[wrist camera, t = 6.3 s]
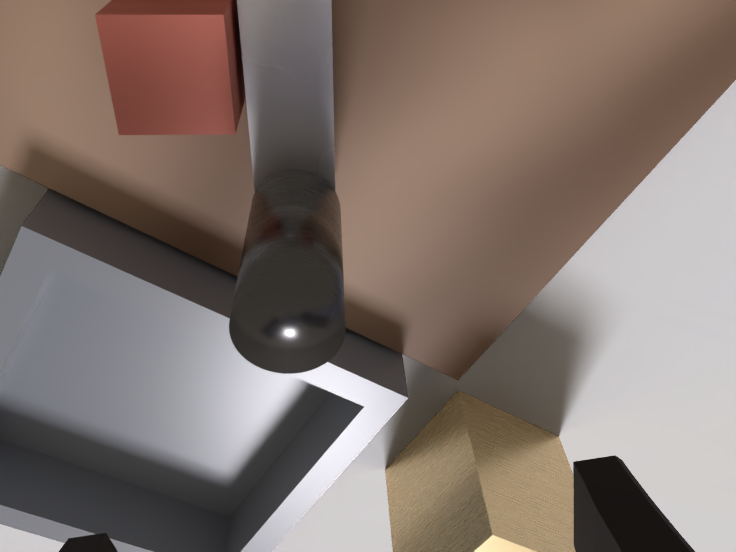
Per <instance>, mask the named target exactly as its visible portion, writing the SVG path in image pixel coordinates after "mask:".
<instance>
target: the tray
mask: <svg viewBox="0 0 736 552" xmlns="http://www.w3.org/2000/svg"><path fill="white" fill-rule="evenodd" d="M237 278H238V277H237V276H235V275H233V274H231V273H229V272H227V271H225V270H222V269H220V268H218V267H216V266H214V265H212V264H210V263H207V262H205V261H203V260H201V259H199V258H197V257H195V256H193V255H190V254H188V253H186V252H184V251H182V250H180V249H178V248H176V247H173V246H171V245H169V244H167V243H165V242H163V241H161V240H159V239H156V238H154V237H152V236H150V235H148V234H146V233H144V232H141V231H139V230H137V229H135V228H133V227H131V226H129V225H127V224H124V223H122V222H120V221H118V220H116V219H114V218H112V217H110V216H107V215H105V214H103V213H101V212H99V211H97V210H95V209H93V208H90V207H88V206H86V205H84V204H82V203H80V202H78V201H76V200H73V199H71V198H69V197H67V196H65V195H63V194H61V193H58V192H56V191H54V190H52V189H50V188H49V189H48V191H47V192H46V194H45V195H44V196H43V198H42V199H41V200H40V202H39V203H38V204H37V206H36V207H35V208H34V210H33V211H32V212H31V214H30V215H29V217H28V218H27V219H26V221H25V222H24V223H23V225H22V226H21V228H20V231H19V233H18V235H17V238H16V240H15V243H14V245H13V247H12V250H11V252H10V254H9V257H8V259H7V261H6V264H5V266H4V269H3V271H2V273H1V276H0V524H3V525H6V526H9V527H13V528H16V529H19V530H23V531H26V532H29V533H33V534H36V535H40V536H43V537H46V538H50V539H53V540H56V541H60V542H63V543H65V542H66V541H67V540H68V538H74V537H81V536H87V535H94V534H101V533H107V535H108V536H109V538H110V540H111V541H112V543H113V544H114V546H115V548H116V549H117V551H118V552H272V551H273V550H274V548H275V547H276V546H277V545H278V544H279V543H280V542H281V541H282V539H283V538H284V537H285V536H286V535H287V534H288V533H289V532H290V530H291V529H292V528H293V527H294V526H295V525H296V524H297V523H298V521H299V520H300V519H301V518H302V517H303V516H304V515H305V514H306V512H307V511H308V510H309V509H310V508H311V507H312V506H313V505H314V504H315V502H316V501H317V500H318V499H319V498H320V497H321V496H322V495H323V493H324V492H325V491H326V490H327V489H328V488H329V487H330V486H331V484H332V483H333V482H334V481H335V480H336V479H337V478H338V477H339V475H340V474H341V473H342V472H343V471H344V470H345V469H346V468H347V466H348V465H349V464H350V463H351V462H352V461H353V460H354V459H355V457H356V456H357V455H358V454H359V453H360V452H361V451H362V450H363V448H364V447H365V446H366V445H367V444H368V443H369V442H370V441H371V439H372V438H373V437H374V436H375V435H376V434H377V433H378V432H379V430H380V429H381V428H382V427H383V426H384V425H385V424H386V423H387V422H388V420H389V419H390V418H391V417H392V416H393V415H394V414H395V413H396V411H397V410H398V409H399V408H400V407H401V406H402V405H403V404H404V402H405V401H406V400H407V399H408V392H407V385H406V378H405V371H404V365H403V358H402V354H401V353H399V352H397V351H395V350H393V349H391V348H388V347H386V346H384V345H382V344H380V343H378V342H376V341H373V340H371V339H369V338H367V337H365V336H363V335H361V334H359V333H356V332H354V331H352V330H350V329H348V328H346V332H345V338H344V341H343V344H342V346H341V348H340V349H339V351H338V352H337V353H336V355H335V356H334V357H333V358H332V359H331V360H329V361H328V362H327V363H325V364H324V365H322V366H320V367H318V368H315V369H313V370H310V371H307V372H302V373H294V374H283V373H275V372H271V371H267V370H264V369H261V368H259V367H257V366H255V365H253V364H252V363H250V362H249V361H247V360H246V359H245V358H244V357H243V356H242V355H241V354H240V353H239V352H238V351H237V350H236V348H235V346H234V345H233V343H232V340H231V338H230V333H229V321H230V315H231V310H232V304H233V299H234V294H235V288H236V283H237Z"/></svg>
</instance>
